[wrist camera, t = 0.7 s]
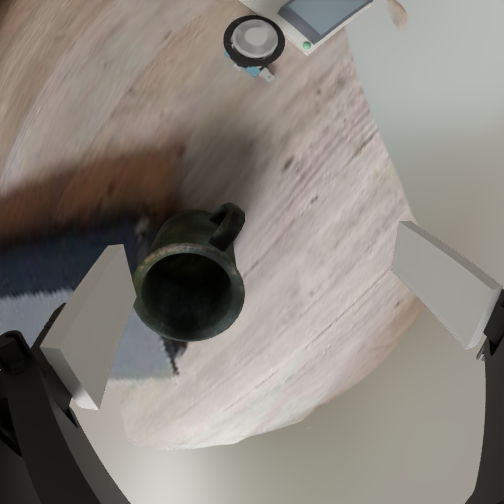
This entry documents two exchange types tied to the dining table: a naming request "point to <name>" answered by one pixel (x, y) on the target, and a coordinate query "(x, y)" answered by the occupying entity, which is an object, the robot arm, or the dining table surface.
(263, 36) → the push button
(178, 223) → the mug
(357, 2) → the blue-grey rectangular block
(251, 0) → the board
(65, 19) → the dining table surface
